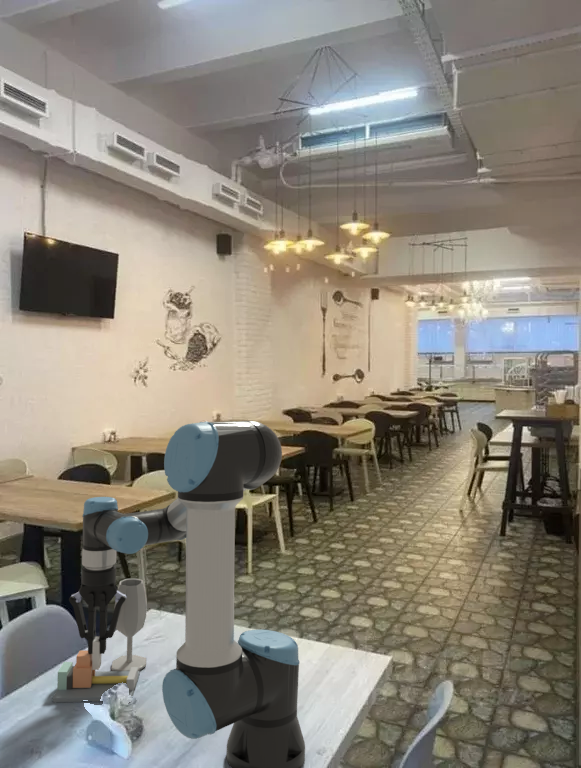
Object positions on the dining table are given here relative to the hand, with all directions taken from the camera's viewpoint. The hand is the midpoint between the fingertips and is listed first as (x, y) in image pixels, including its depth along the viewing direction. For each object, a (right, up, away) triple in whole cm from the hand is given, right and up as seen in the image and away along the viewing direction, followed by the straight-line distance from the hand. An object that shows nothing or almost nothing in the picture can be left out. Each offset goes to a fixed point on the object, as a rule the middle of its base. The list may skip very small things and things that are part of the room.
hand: (96, 666), depth 144 cm
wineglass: (+5, -5, +11) cm, 13 cm away
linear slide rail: (0, -5, 0) cm, 5 cm away
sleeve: (-3, -4, 0) cm, 5 cm away
